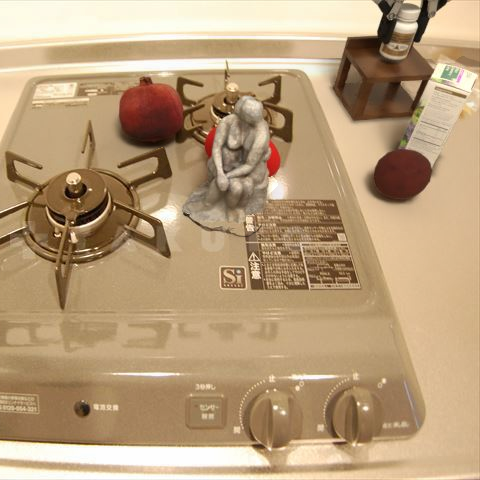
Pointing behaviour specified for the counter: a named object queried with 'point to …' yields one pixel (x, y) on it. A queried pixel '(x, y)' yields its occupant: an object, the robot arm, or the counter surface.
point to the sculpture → (234, 169)
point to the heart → (272, 162)
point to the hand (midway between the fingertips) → (398, 38)
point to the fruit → (150, 111)
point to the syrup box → (438, 110)
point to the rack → (379, 80)
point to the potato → (402, 174)
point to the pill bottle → (402, 33)
